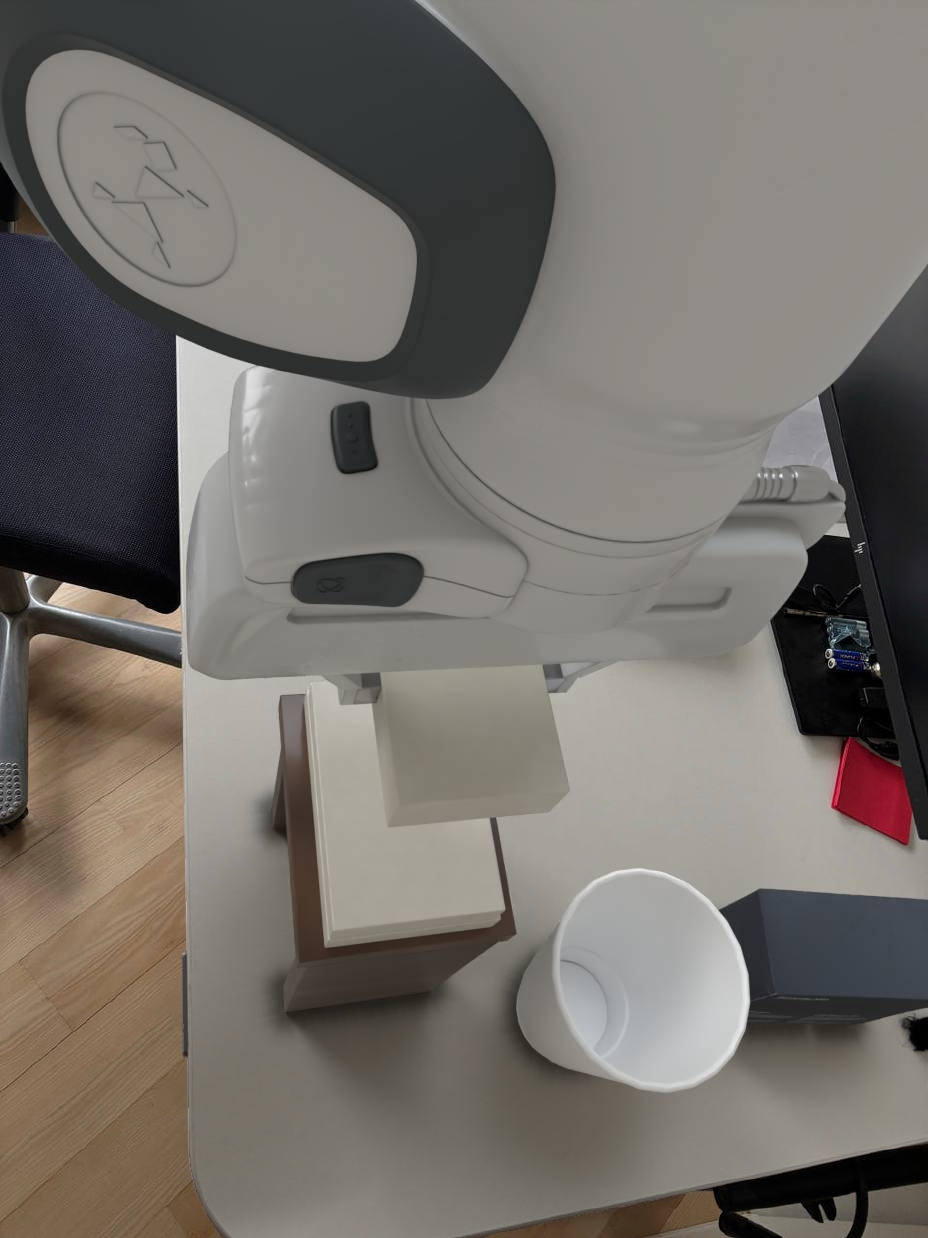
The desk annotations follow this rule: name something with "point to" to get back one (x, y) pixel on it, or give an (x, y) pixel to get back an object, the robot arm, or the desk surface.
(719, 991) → the cup
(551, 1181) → the desk surface
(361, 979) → the walnut shelf
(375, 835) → the white books
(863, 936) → the small box
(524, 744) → the ivory book
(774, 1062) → the desk surface
